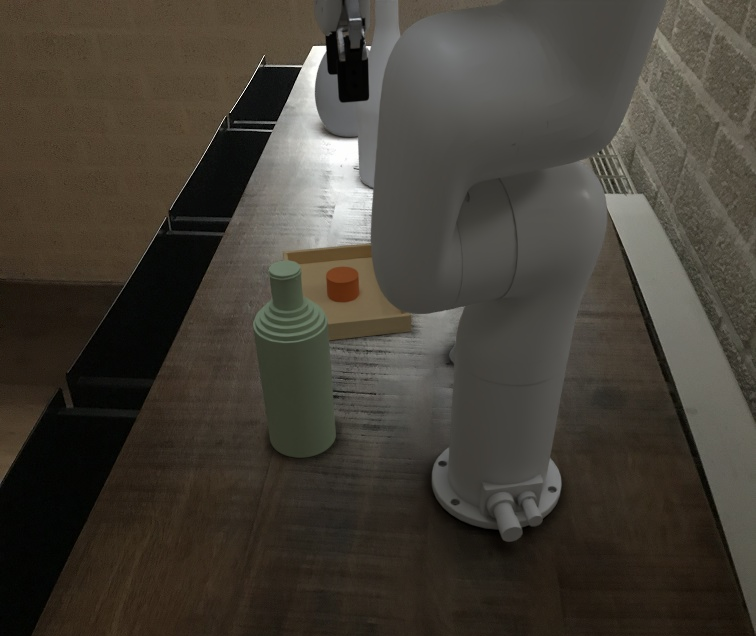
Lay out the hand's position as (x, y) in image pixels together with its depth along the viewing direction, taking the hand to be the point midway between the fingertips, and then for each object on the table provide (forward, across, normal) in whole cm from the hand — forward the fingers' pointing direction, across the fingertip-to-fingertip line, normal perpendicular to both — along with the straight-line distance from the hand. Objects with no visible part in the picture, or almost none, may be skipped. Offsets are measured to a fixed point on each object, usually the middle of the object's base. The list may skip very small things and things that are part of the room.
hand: (347, 86), depth 87 cm
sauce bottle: (+26, +28, -10) cm, 39 cm away
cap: (+25, +1, -2) cm, 25 cm away
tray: (+25, +1, -2) cm, 25 cm away
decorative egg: (+24, -57, +7) cm, 62 cm away
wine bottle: (+25, -34, +10) cm, 43 cm away
